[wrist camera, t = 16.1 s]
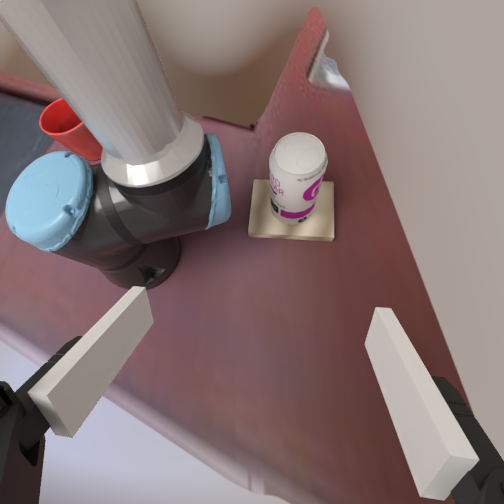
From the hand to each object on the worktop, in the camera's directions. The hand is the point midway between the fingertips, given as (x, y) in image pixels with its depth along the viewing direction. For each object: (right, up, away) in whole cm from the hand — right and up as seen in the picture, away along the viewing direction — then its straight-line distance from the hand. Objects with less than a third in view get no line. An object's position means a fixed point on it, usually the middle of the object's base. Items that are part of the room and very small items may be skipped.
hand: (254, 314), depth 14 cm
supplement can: (+8, +12, +33) cm, 36 cm away
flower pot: (-38, +29, +45) cm, 66 cm away
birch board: (+8, +12, +35) cm, 37 cm away
